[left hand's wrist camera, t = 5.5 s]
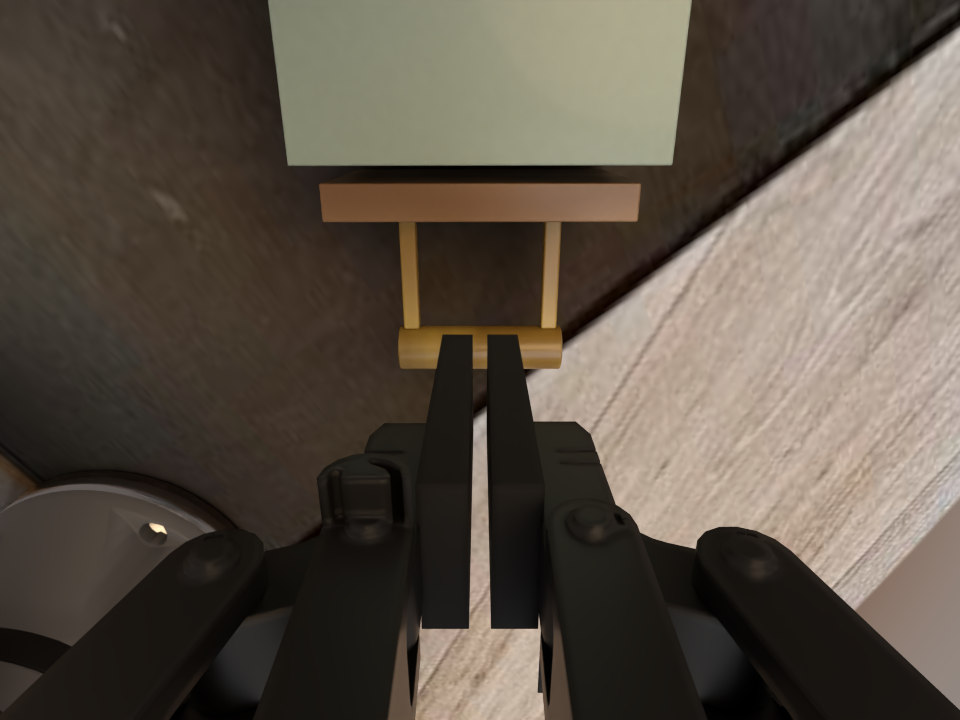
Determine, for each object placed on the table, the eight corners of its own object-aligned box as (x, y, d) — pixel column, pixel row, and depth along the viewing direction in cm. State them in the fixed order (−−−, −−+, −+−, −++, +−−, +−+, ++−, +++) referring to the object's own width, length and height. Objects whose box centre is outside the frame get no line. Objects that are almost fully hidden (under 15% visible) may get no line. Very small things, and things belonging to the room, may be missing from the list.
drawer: (589, 336, 27) (620, 395, 21) (370, 336, 27) (340, 396, 21) (640, -353, 18) (718, -582, 12) (317, -352, 18) (239, -581, 12)
